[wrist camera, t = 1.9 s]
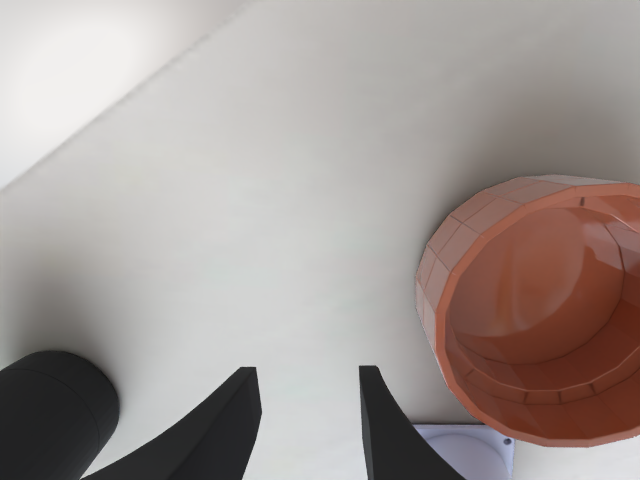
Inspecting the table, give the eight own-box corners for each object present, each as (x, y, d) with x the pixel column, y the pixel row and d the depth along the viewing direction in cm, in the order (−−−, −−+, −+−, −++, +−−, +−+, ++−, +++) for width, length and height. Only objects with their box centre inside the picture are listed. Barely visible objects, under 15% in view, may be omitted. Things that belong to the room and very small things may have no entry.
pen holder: (-17, 378, 26) (-232, 513, 16) (67, 320, 24) (-121, 434, 14) (67, 466, 28) (-84, 636, 18) (153, 418, 26) (34, 579, 16)
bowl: (623, 376, 22) (712, 449, 16) (413, 378, 23) (433, 446, 18) (659, 166, 18) (783, 173, 13) (413, 182, 20) (436, 193, 14)
